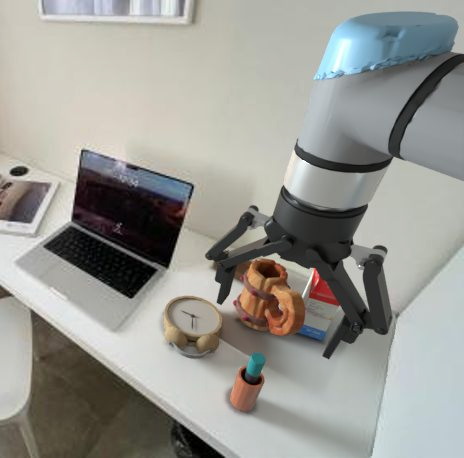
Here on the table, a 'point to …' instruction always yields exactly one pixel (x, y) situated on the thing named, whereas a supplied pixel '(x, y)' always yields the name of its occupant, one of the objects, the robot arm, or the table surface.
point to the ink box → (318, 307)
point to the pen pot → (245, 391)
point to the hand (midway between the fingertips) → (271, 322)
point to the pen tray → (238, 268)
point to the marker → (254, 368)
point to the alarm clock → (192, 325)
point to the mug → (269, 300)
